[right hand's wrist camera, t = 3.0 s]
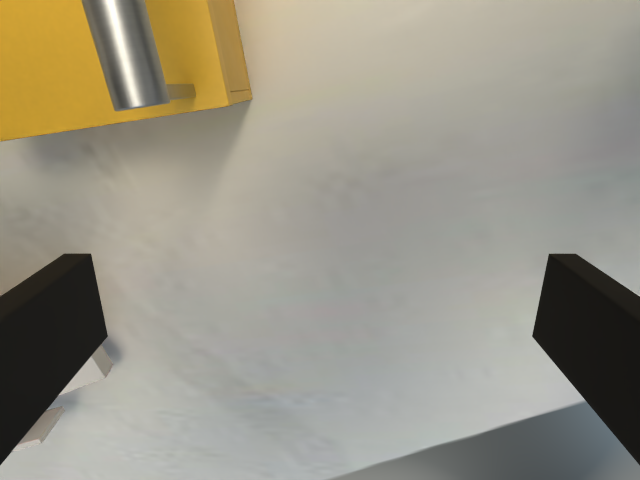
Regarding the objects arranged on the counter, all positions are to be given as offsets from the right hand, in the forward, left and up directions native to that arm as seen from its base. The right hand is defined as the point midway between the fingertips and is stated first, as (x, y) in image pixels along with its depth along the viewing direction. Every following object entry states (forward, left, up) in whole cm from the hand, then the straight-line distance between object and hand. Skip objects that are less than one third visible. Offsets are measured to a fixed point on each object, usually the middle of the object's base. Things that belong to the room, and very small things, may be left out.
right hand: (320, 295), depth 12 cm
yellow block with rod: (0, -16, -15) cm, 22 cm away
